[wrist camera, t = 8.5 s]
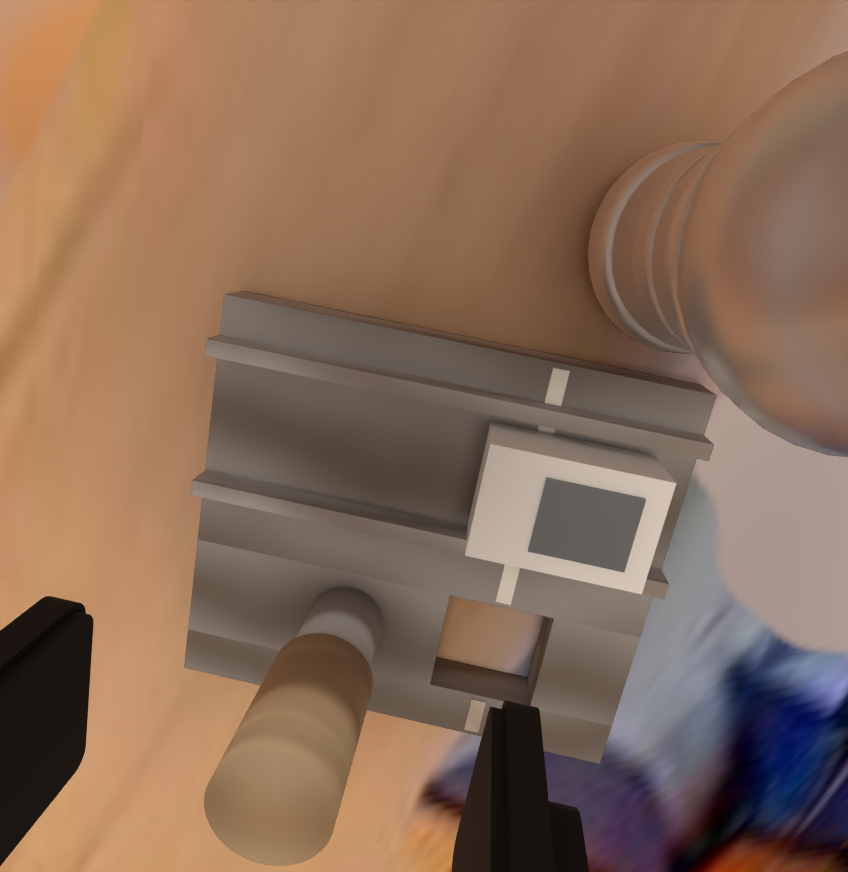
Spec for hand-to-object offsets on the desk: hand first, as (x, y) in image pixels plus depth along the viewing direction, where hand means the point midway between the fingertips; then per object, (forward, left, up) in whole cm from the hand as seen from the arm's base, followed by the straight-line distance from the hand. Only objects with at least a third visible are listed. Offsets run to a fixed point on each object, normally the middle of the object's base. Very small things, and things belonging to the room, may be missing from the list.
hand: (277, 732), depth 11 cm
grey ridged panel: (+4, +2, -18) cm, 18 cm away
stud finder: (0, +6, -16) cm, 17 cm away
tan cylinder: (+8, -1, -16) cm, 17 cm away
